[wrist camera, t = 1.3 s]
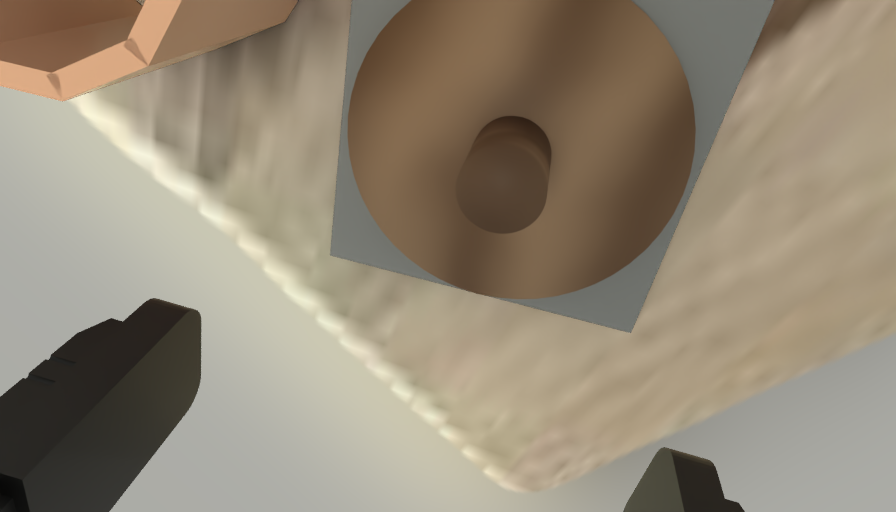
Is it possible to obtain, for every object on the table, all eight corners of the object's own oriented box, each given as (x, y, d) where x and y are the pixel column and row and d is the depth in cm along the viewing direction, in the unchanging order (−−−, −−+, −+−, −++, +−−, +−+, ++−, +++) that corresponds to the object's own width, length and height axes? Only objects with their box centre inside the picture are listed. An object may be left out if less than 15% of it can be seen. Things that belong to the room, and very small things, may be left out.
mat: (773, -6, 20) (776, -5, 20) (630, 328, 28) (630, 333, 28) (363, -93, 22) (359, -93, 21) (333, 251, 29) (330, 255, 29)
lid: (755, 7, 20) (800, 27, 16) (623, 321, 28) (631, 390, 23) (371, -75, 21) (323, -75, 17) (340, 248, 29) (301, 302, 25)
